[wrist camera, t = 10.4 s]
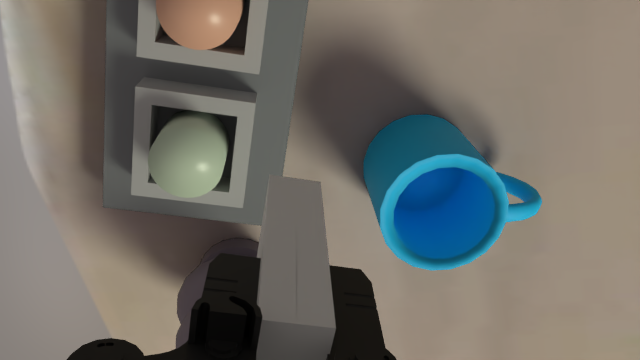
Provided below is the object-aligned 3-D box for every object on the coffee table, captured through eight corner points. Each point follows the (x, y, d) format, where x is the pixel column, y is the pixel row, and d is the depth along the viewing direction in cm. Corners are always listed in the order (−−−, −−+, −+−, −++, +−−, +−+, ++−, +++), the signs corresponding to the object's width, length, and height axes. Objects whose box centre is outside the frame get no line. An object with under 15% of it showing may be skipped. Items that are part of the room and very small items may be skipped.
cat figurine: (305, 242, 46) (312, 342, 35) (279, 322, 49) (278, 437, 38) (198, 217, 44) (169, 313, 33) (177, 300, 47) (145, 414, 36)
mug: (355, 209, 45) (369, 265, 37) (372, 108, 42) (391, 147, 34) (503, 222, 46) (546, 279, 39) (531, 125, 43) (583, 166, 35)
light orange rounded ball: (171, -46, 33) (158, -43, 30) (248, -33, 34) (243, -28, 30) (167, 31, 35) (153, 43, 31) (240, 42, 36) (235, 55, 32)
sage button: (163, 104, 37) (149, 123, 33) (232, 114, 37) (226, 134, 34) (159, 167, 38) (146, 193, 35) (225, 176, 39) (219, 201, 35)
